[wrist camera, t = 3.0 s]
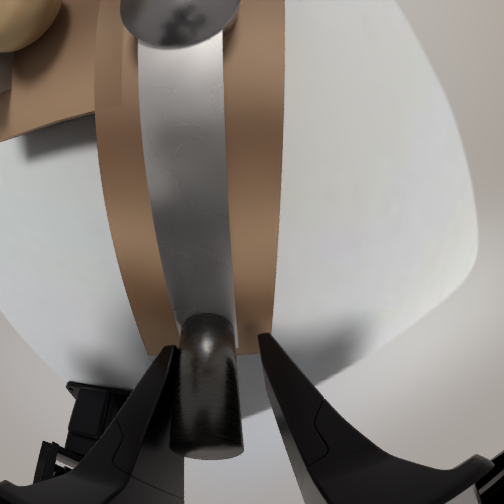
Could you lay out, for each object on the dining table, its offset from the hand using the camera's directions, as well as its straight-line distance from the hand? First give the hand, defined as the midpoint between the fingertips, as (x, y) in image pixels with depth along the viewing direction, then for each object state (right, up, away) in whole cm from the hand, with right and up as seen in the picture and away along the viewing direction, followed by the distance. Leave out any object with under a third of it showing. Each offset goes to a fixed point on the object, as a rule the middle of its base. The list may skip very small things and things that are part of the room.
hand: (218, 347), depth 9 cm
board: (-4, +7, 0) cm, 8 cm away
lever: (-1, +7, -2) cm, 7 cm away
